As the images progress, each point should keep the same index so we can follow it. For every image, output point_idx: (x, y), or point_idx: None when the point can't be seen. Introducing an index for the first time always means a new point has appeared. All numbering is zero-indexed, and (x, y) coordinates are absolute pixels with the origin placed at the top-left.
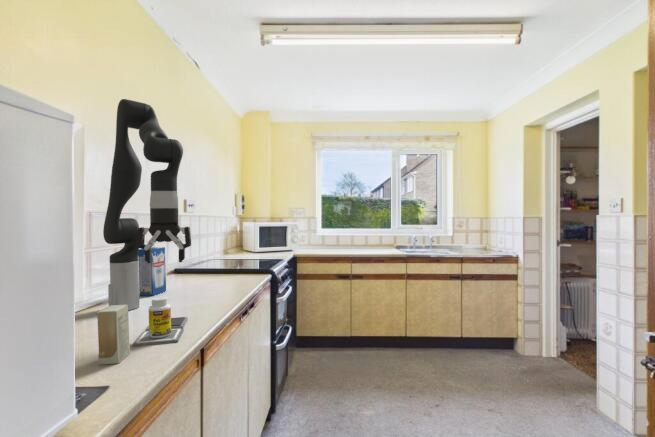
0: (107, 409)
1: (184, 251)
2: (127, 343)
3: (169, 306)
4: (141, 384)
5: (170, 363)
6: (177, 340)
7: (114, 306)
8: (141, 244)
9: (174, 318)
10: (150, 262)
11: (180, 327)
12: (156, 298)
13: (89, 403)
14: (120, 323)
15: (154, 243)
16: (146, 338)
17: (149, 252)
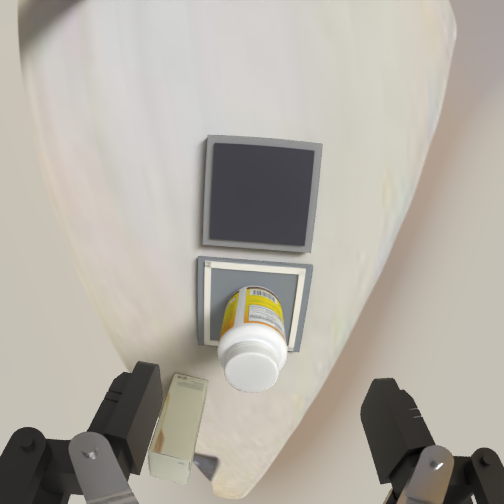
0: (233, 486)
1: (426, 441)
2: (203, 403)
3: (284, 363)
4: (255, 464)
5: (287, 430)
6: (298, 351)
7: (165, 463)
8: (65, 500)
9: (279, 157)
10: (160, 391)
11: (303, 251)
12: (239, 368)
13: (211, 476)
14: (193, 456)
15: (136, 499)
16: (221, 317)
17: (141, 463)
